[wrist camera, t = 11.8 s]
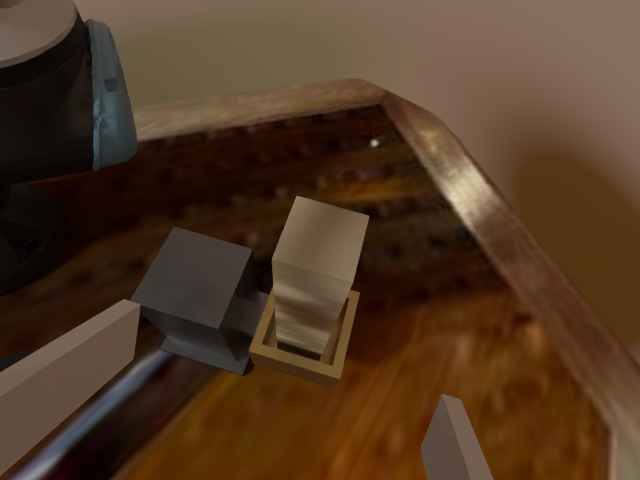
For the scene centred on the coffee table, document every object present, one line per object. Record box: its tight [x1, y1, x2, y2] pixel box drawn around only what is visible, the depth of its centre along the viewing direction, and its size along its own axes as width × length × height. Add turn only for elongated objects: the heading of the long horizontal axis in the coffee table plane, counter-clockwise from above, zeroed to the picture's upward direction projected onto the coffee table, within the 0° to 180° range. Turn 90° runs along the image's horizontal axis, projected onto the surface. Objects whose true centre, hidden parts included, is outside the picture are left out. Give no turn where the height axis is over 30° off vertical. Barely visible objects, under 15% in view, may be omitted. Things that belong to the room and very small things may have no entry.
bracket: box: [130, 227, 360, 388], centre depth 33 cm, size 18×9×13 cm, turn 74°
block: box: [272, 196, 369, 361], centre depth 25 cm, size 4×4×18 cm
